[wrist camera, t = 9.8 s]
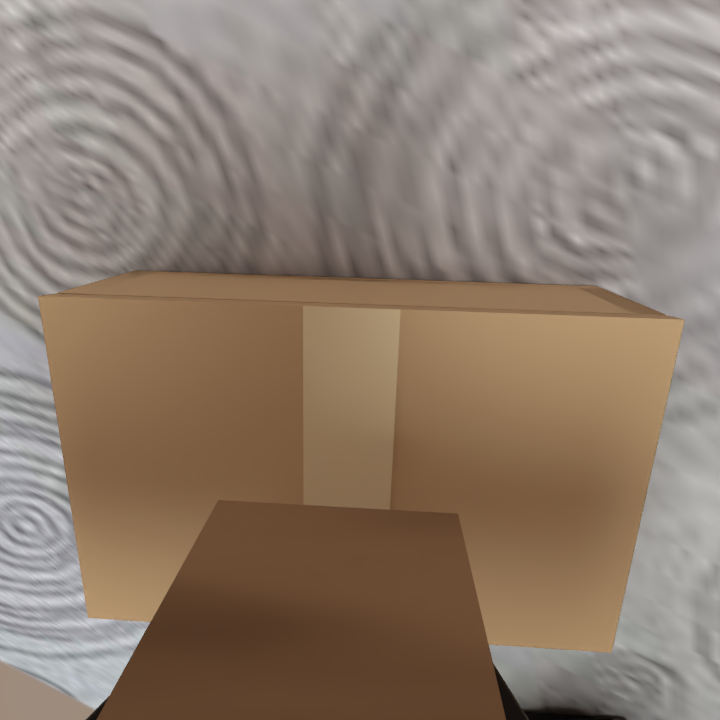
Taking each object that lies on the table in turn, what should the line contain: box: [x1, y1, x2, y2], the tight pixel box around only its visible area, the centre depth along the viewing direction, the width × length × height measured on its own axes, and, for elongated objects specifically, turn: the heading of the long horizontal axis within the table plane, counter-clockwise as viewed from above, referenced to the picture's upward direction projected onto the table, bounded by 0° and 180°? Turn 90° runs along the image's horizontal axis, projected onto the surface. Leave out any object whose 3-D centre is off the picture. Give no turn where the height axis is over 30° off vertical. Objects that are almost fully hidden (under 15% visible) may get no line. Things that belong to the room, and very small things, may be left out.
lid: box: [38, 294, 684, 653], centre depth 12 cm, size 10×16×1 cm, turn 89°
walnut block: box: [97, 500, 506, 720], centre depth 7 cm, size 4×4×4 cm
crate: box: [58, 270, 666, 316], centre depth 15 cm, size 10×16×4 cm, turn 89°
